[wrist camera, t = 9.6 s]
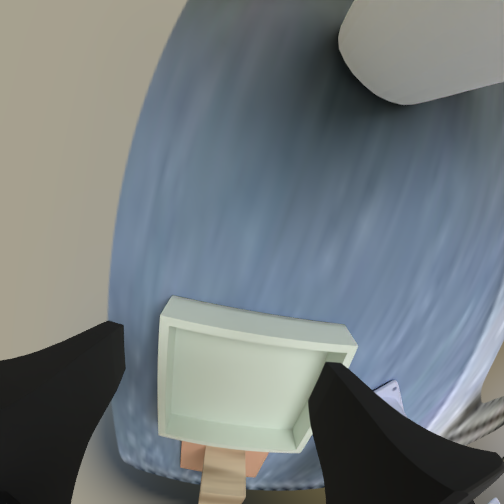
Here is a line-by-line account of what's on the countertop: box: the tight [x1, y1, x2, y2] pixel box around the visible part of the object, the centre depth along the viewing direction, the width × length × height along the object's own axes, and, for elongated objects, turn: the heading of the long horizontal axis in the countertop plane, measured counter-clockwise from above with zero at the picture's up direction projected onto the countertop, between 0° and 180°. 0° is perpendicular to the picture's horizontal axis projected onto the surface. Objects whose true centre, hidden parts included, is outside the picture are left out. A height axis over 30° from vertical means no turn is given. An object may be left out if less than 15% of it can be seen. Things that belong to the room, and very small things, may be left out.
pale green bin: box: [158, 295, 358, 453], centre depth 18 cm, size 13×13×3 cm
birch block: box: [199, 445, 246, 504], centre depth 19 cm, size 4×4×6 cm
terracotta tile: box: [180, 441, 269, 477], centre depth 23 cm, size 9×9×1 cm
